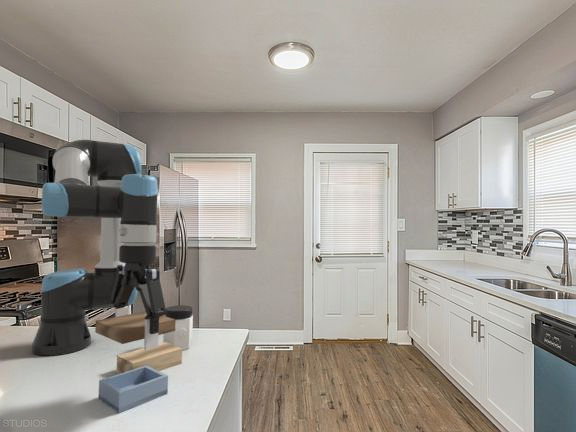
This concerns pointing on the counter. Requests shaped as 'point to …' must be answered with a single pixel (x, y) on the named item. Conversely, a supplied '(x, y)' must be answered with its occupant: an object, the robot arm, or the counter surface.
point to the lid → (130, 327)
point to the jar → (180, 326)
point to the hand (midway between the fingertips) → (135, 342)
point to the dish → (132, 388)
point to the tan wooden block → (150, 358)
